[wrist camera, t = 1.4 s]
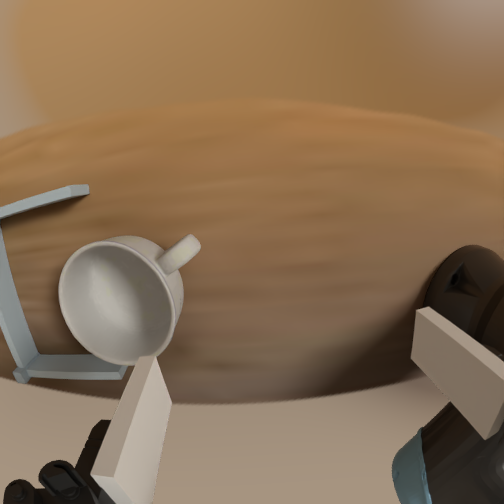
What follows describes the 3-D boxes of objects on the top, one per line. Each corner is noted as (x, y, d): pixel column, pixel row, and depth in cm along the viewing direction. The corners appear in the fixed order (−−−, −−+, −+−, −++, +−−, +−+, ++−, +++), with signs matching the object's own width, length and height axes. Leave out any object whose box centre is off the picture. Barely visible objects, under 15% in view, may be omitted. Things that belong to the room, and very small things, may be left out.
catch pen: (87, 181, 27) (63, 182, 22) (131, 361, 32) (119, 388, 27) (-9, 211, 26) (-36, 217, 21) (35, 362, 31) (17, 382, 26)
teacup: (124, 339, 31) (100, 380, 23) (74, 254, 29) (35, 277, 21) (234, 290, 31) (237, 326, 23) (185, 192, 28) (169, 196, 20)
